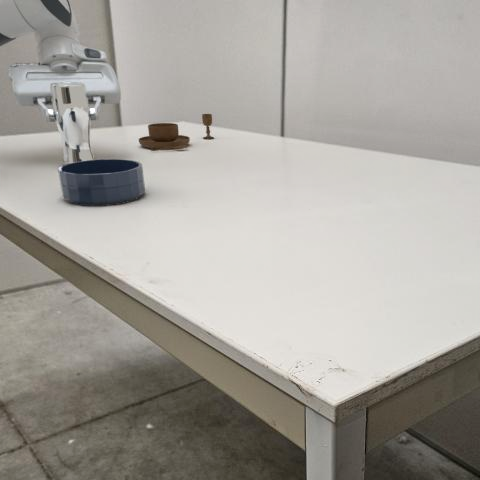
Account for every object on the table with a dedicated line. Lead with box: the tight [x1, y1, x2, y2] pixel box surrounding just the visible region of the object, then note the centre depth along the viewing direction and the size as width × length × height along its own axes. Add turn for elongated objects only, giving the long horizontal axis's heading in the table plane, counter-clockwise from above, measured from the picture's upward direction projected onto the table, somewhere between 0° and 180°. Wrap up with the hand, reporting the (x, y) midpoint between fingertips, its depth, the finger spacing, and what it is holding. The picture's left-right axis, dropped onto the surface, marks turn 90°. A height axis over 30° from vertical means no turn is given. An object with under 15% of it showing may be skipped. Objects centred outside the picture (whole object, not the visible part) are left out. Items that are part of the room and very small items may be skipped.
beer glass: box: [50, 82, 96, 164], centre depth 123 cm, size 7×7×15 cm
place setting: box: [138, 113, 215, 152], centre depth 149 cm, size 18×20×6 cm
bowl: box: [57, 158, 146, 206], centre depth 102 cm, size 13×13×5 cm
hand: (73, 119), depth 123 cm, fingers closed on beer glass, 7 cm apart
